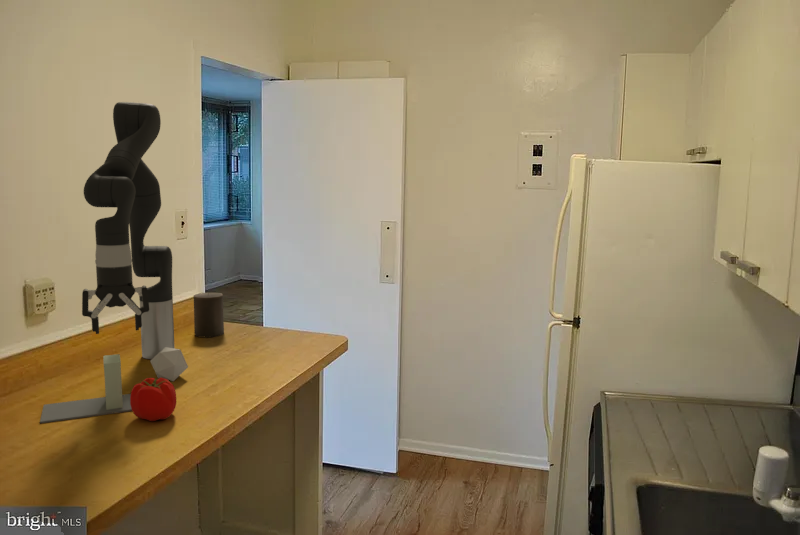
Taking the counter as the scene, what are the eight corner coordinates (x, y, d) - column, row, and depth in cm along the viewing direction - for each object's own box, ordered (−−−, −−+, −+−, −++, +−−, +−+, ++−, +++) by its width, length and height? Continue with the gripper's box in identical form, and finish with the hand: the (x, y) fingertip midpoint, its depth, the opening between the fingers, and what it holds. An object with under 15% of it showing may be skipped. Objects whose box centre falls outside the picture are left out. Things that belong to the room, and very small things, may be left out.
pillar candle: (208, 339, 207) (207, 295, 205) (188, 334, 212) (186, 291, 210) (230, 333, 216) (229, 290, 213) (210, 329, 220) (209, 287, 218)
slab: (105, 399, 151) (103, 355, 149) (122, 397, 152) (119, 354, 151) (106, 409, 144) (103, 364, 143) (123, 407, 146) (120, 362, 144)
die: (195, 378, 170) (186, 345, 174) (181, 372, 162) (173, 337, 166) (165, 389, 170) (157, 356, 173) (150, 384, 161) (142, 348, 165)
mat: (43, 406, 147) (43, 404, 147) (135, 394, 156) (135, 393, 155) (40, 423, 137) (39, 421, 137) (138, 410, 146) (138, 408, 146)
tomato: (150, 430, 135) (149, 392, 133) (119, 419, 140) (117, 382, 139) (190, 415, 143) (189, 378, 142) (159, 405, 149) (158, 370, 148)
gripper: (146, 259, 150) (149, 325, 153) (80, 262, 144) (84, 330, 147) (147, 264, 144) (150, 332, 146) (78, 267, 138) (83, 338, 140)
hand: (117, 331), depth 147 cm, fingers open, 8 cm apart
